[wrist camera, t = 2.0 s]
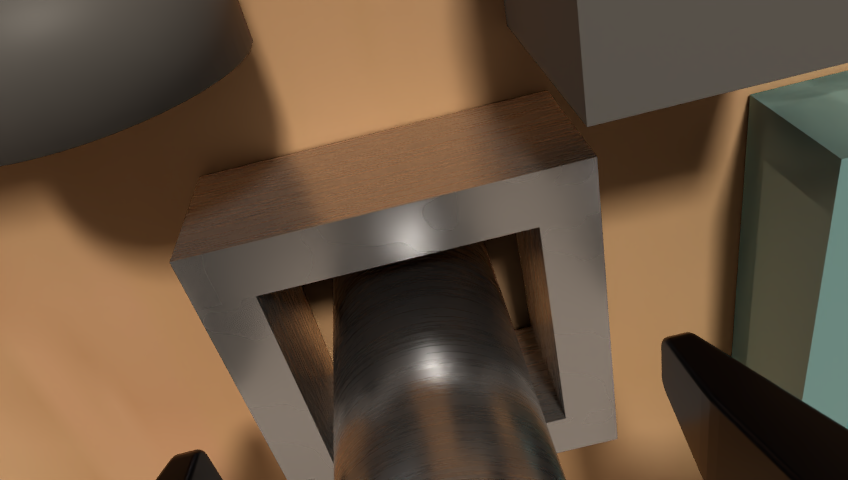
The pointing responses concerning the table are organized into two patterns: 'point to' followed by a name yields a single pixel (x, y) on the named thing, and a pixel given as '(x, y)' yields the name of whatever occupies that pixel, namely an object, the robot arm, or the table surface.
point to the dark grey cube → (673, 48)
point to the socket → (400, 240)
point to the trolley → (106, 66)
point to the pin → (433, 376)
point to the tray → (796, 243)
